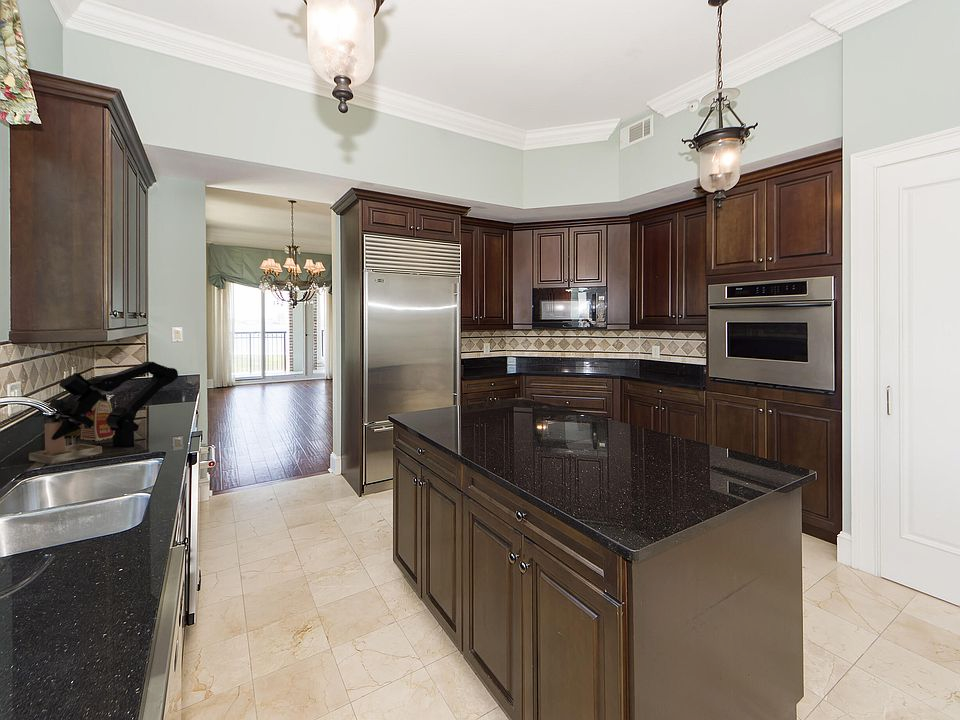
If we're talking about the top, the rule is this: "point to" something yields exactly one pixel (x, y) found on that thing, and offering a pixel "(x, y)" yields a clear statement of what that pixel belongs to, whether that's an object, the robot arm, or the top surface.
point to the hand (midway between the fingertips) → (50, 439)
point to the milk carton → (98, 422)
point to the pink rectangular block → (51, 444)
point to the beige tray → (66, 454)
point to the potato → (75, 432)
